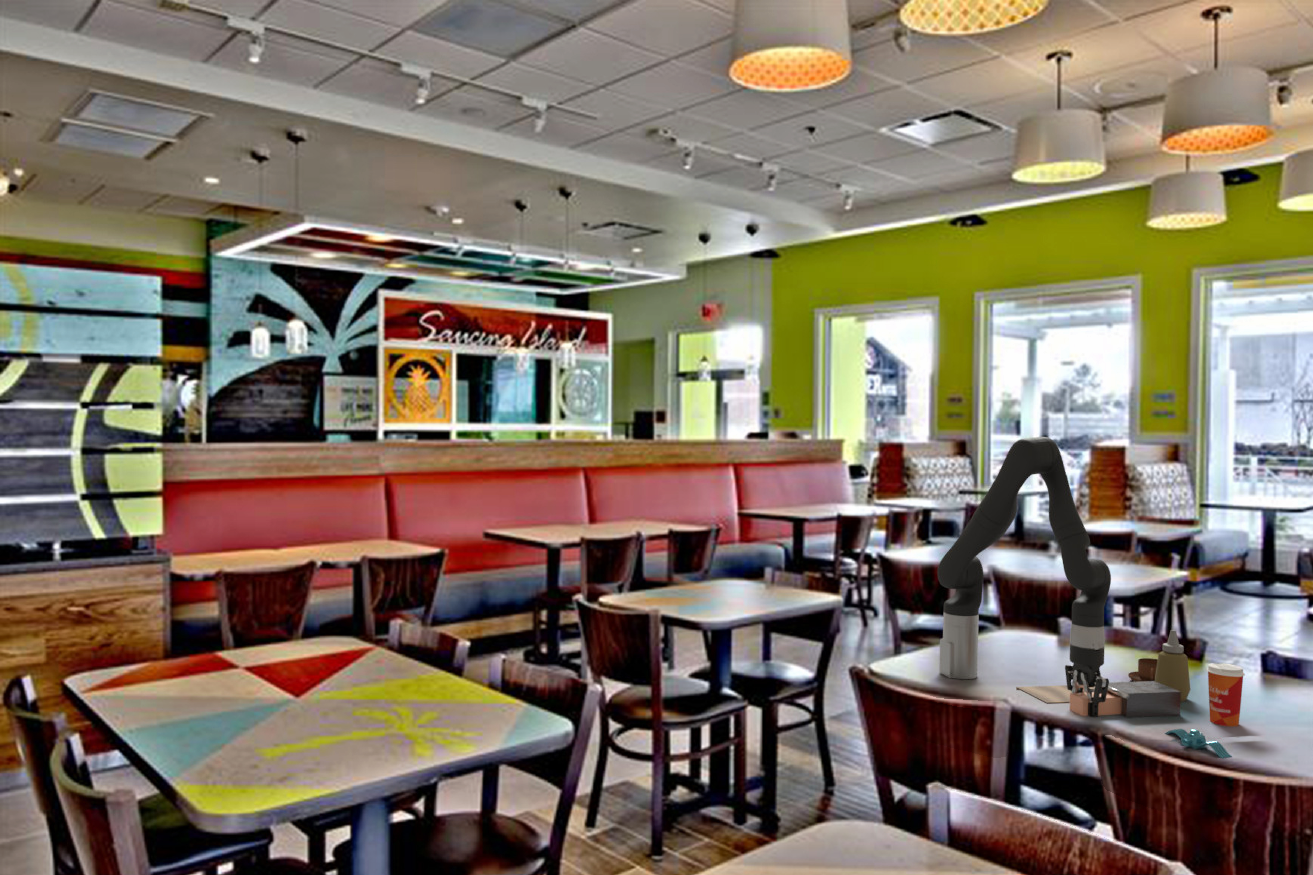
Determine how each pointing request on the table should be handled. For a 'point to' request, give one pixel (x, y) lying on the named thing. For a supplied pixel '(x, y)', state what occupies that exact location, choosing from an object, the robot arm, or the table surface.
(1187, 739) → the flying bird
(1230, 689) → the paper cup
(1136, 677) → the cup and saucer
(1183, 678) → the squeeze bottle
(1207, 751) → the table surface
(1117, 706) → the block
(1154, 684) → the dispenser
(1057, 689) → the board
